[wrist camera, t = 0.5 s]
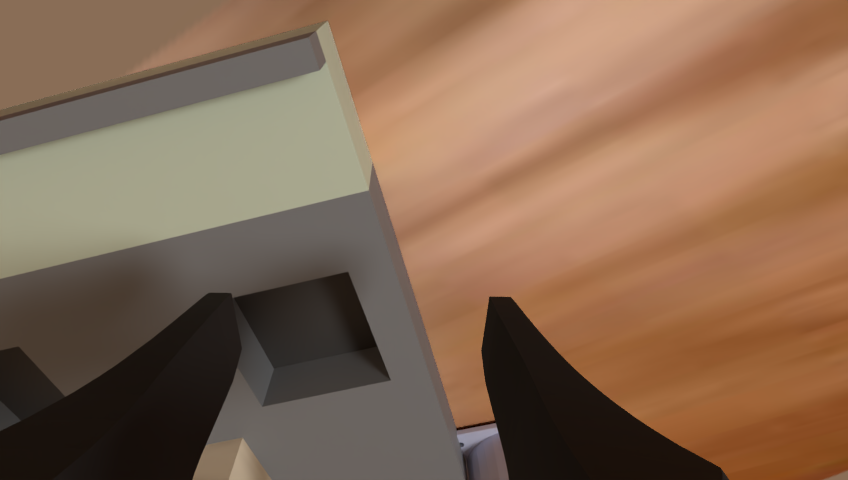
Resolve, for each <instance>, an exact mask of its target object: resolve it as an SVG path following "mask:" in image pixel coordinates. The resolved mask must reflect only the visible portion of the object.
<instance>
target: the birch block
mask: <svg viewBox="0 0 848 480" xmlns="http://www.w3.org/2000/svg"><path fill="white" fill-rule="evenodd" d="M193 480H271V478H270V477H269V475H268V474H267V472H266V471H265V469H264V468H263V467H262V465H261V464H260V462H259V461H258V459H257V458H256V456H255V455H254V453H253V452H252V451H251V449H250V448H249V446H248V445H247V443H246V442H245V440H244V439H243V438H238V439H233V440H228V441H223V442H218V443H213V444H208V445H206V446H205V448H204V450H203V453H202V455H201V458H200V460H199V463H198V465H197V468H196V471H195V473H194V476H193Z"/></svg>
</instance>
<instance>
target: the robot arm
mask: <svg viewBox="0 0 848 480" xmlns="http://www.w3.org/2000/svg"><path fill="white" fill-rule="evenodd" d="M241 351H242V346H241V341H240V336H239V330H238V325H237V320H236V315H235V309H234V304H233V299H232V294H231V293H208V294H206V295H205V296H204V297H202V298H201V299H200V300H199V301H197V302H196V303H195V304H194V305H193V306H191V307H190V308H189V309H188V310H187V311H185V312H184V313H183V314H182V315H181V316H179V317H178V318H177V319H176V320H174V321H173V322H172V323H171V324H170V325H168V326H167V327H166V328H165V329H163V330H162V331H161V332H160V333H158V334H157V335H156V336H155V337H153V338H152V339H151V340H149V341H148V342H147V343H145V344H144V345H143V346H141V347H140V348H139V349H137V350H136V351H134V352H133V353H132V354H130V355H129V356H128V357H126V358H125V359H124V360H122V361H121V362H120V363H118V364H117V365H115V366H114V367H112V368H111V369H109V370H108V371H106V372H105V373H103V374H102V375H100V376H99V377H97V378H96V379H94V380H92V381H91V382H89V383H88V384H86V385H84V386H83V387H81V388H80V389H78V390H76V391H75V392H73V393H71V394H69V395H68V396H66V397H64V398H62V399H60V400H59V401H57V402H55V403H53V404H51V405H49V406H48V407H46V408H44V409H42V410H40V411H39V412H37V413H35V414H33V415H31V416H29V417H27V418H25V419H23V420H21V421H19V422H17V423H15V424H13V425H11V426H9V427H7V428H5V429H3V430H1V431H0V480H193V476H194V473H195V471H196V468H197V465H198V463H199V460H200V458H201V455H202V453H203V450H204V448H205V446H206V443H207V441H208V439H209V436H210V434H211V432H212V430H213V427H214V425H215V423H216V420H217V418H218V416H219V413H220V411H221V409H222V406H223V404H224V402H225V399H226V397H227V395H228V392H229V390H230V387H231V385H232V383H233V380H234V376H235V373H236V369H237V366H238V362H239V358H240V354H241ZM481 351H482V359H483V367H484V375H485V382H486V386H487V390H488V394H489V398H490V402H491V406H492V410H493V414H494V418H495V421H496V423H494V424H489V425H483V426H478V427H473V428H468V429H463V430H458V431H457V437H458V440H459V443H460V445H461V450H462V453H463V456H464V459H465V462H466V469H467V476H468V480H729V479H728V478H727V476H726V475H725V473H724V472H723V471H722V469H721V468H720V467H718V466H716V465H714V464H713V463H711V462H709V461H707V460H705V459H703V458H701V457H700V456H698V455H696V454H694V453H692V452H690V451H689V450H687V449H685V448H683V447H681V446H679V445H678V444H676V443H674V442H672V441H671V440H669V439H668V438H666V437H664V436H663V435H661V434H660V433H658V432H656V431H655V430H653V429H651V428H650V427H648V426H647V425H645V424H644V423H642V422H641V421H639V420H638V419H636V418H635V417H634V416H632V415H631V414H629V413H628V412H627V411H625V410H624V409H623V408H621V407H620V406H618V405H617V404H616V403H614V402H613V401H612V400H610V399H609V398H608V397H607V396H605V395H604V394H603V393H602V392H600V391H599V390H598V389H597V388H596V387H594V386H593V385H592V384H591V383H590V382H589V381H587V380H586V379H585V378H584V377H583V376H582V375H581V374H579V373H578V372H577V371H576V370H575V369H574V368H573V367H572V366H571V365H570V364H569V363H568V362H567V361H566V360H565V359H564V358H563V357H562V356H561V355H560V354H559V353H558V352H557V351H556V350H555V349H554V347H553V346H552V345H551V344H550V343H549V342H548V341H547V340H546V339H545V337H544V336H543V335H542V334H541V333H540V332H539V331H538V329H537V328H536V327H535V326H534V325H533V323H532V322H531V321H530V320H529V319H528V317H527V316H526V315H525V314H524V313H523V311H522V310H521V309H520V308H519V306H518V305H517V304H516V303H515V301H514V300H513V299H512V298H511V297H489V304H488V310H487V317H486V324H485V330H484V337H483V344H482V350H481Z"/></svg>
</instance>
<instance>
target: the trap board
mask: <svg viewBox="0 0 848 480" xmlns="http://www.w3.org/2000/svg"><path fill="white" fill-rule="evenodd" d="M208 293H231V294H232V299H233V304H234V309H235V315H236V320H237V325H238V330H239V336H240V341H241V346H242V351H241V354H240V358H239V362H238V366H237V369H236V373H235V376H234V380H233V383H232V385H231V387H230V390H229V392H228V395H227V397H226V399H225V402H224V404H223V406H222V409H221V411H220V413H219V416H218V418H217V420H216V423H215V425H214V427H213V430H212V432H211V434H210V436H209V439H208V441H207V443H206V445H208V444H213V443H218V442H223V441H228V440H233V439H238V438H243V439H244V440H245V442H246V443H247V445H248V446H249V448H250V449H251V451H252V452H253V453H254V455H255V456H256V458H257V459H258V461H259V462H260V464H261V465H262V467H263V468H264V469H265V471H266V472H267V474H268V475H269V477H270V478H271V480H468V476H467V469H466V462H465V459H464V456H463V453H462V450H461V445H460V443H459V440H458V437H457V429H456V426H455V423H454V419H453V416H452V413H451V410H450V407H449V404H448V400H447V397H446V394H445V391H444V388H443V385H442V381H441V378H440V375H439V372H438V369H437V366H436V362H435V359H434V356H433V353H432V350H431V347H430V343H429V340H428V337H427V334H426V331H425V328H424V324H423V321H422V318H421V315H420V312H419V308H418V305H417V302H416V299H415V296H414V293H413V289H412V286H411V283H410V280H409V277H408V274H407V270H406V267H405V264H404V261H403V258H402V255H401V251H400V248H399V245H398V242H397V239H396V236H395V232H394V229H393V226H392V223H391V220H390V216H389V213H388V210H387V207H386V204H385V201H384V197H383V194H382V191H381V188H380V185H379V182H378V178H377V175H376V172H375V169H374V166H373V163H372V159H371V156H370V153H369V150H368V147H367V144H366V140H365V137H364V134H363V131H362V128H361V124H360V121H359V118H358V115H357V112H356V109H355V105H354V102H353V99H352V96H351V93H350V90H349V86H348V83H347V80H346V77H345V74H344V71H343V67H342V64H341V61H340V58H339V55H338V52H337V48H336V45H335V42H334V39H333V36H332V32H331V29H330V26H329V23H328V21H325V22H321V23H318V24H314V25H310V26H307V27H303V28H299V29H296V30H292V31H288V32H285V33H281V34H277V35H274V36H270V37H266V38H263V39H259V40H255V41H252V42H248V43H244V44H241V45H237V46H233V47H230V48H226V49H222V50H219V51H215V52H211V53H208V54H204V55H200V56H197V57H193V58H189V59H186V60H182V61H178V62H175V63H171V64H167V65H164V66H160V67H156V68H153V69H149V70H145V71H142V72H138V73H134V74H131V75H127V76H123V77H120V78H116V79H112V80H109V81H105V82H101V83H98V84H94V85H90V86H87V87H83V88H79V89H76V90H72V91H68V92H65V93H61V94H57V95H54V96H50V97H46V98H43V99H39V100H35V101H32V102H28V103H25V104H21V105H18V106H13V107H10V108H6V109H3V110H0V431H1V430H3V429H5V428H7V427H9V426H11V425H13V424H15V423H17V422H19V421H21V420H23V419H25V418H27V417H29V416H31V415H33V414H35V413H37V412H39V411H40V410H42V409H44V408H46V407H48V406H49V405H51V404H53V403H55V402H57V401H59V400H60V399H62V398H64V397H66V396H68V395H69V394H71V393H73V392H75V391H76V390H78V389H80V388H81V387H83V386H84V385H86V384H88V383H89V382H91V381H92V380H94V379H96V378H97V377H99V376H100V375H102V374H103V373H105V372H106V371H108V370H109V369H111V368H112V367H114V366H115V365H117V364H118V363H120V362H121V361H122V360H124V359H125V358H126V357H128V356H129V355H130V354H132V353H133V352H134V351H136V350H137V349H139V348H140V347H141V346H143V345H144V344H145V343H147V342H148V341H149V340H151V339H152V338H153V337H155V336H156V335H157V334H158V333H160V332H161V331H162V330H163V329H165V328H166V327H167V326H168V325H170V324H171V323H172V322H173V321H174V320H176V319H177V318H178V317H179V316H181V315H182V314H183V313H184V312H185V311H187V310H188V309H189V308H190V307H191V306H193V305H194V304H195V303H196V302H197V301H199V300H200V299H201V298H202V297H204V296H205V295H206V294H208Z"/></svg>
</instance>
